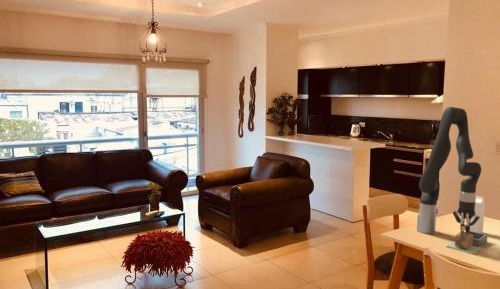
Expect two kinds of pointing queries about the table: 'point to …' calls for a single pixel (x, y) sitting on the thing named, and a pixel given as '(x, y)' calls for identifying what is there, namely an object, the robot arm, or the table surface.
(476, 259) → the table surface
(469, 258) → the table surface
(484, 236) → the holder
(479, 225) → the milk
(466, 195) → the robot arm
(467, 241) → the caddy
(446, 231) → the table surface
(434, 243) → the table surface
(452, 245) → the mat
